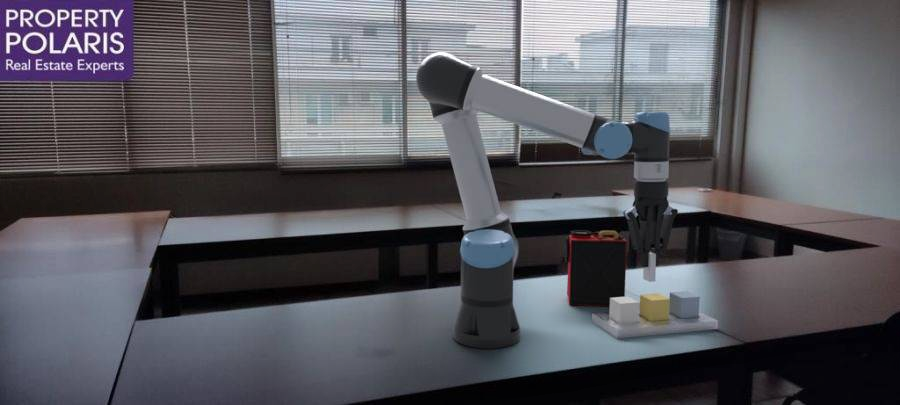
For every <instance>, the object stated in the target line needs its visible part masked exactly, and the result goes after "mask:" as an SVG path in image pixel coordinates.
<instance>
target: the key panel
mask: <svg viewBox="0 0 900 405" xmlns="http://www.w3.org/2000/svg"><path fill="white" fill-rule="evenodd" d="M639 313H640V308H639ZM591 322H592V323H594V324H595V325H596V326H598V327H600V328H601V329H602V330H604V331H605V332H607V333H608V334H610V335H611V336H612V337H614V338H615V339H627V338H636V337H647V336H657V335H658V336H659V335H667V334H668V335H671V334H680V333H690V332H701V331H702V332H703V331H711V330H718V328H719V327H718V326H719V320H717V319H715V318H714V317H711V316H710V315H706V314H704V313H703V312H701V311H699V317H693V318H682V319H681V318H679V317H677V316H675V315H673V314H671V313H669V320H660V321H649V320H647V319H646V318H644V317H642V316H640V315H639V318H638V323H630V324H618V323H616V322H614V321H613V320H611V319H610V318H609V311H604V312H594V313H593V312H592V313H591Z"/></svg>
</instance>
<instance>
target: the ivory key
mask: <svg viewBox="0 0 900 405" xmlns="http://www.w3.org/2000/svg"><path fill="white" fill-rule="evenodd" d="M639 309H640V301H638V300H635V299H634V298H632V297H630V296H625V297H614V298H610V306H609V310H608V312H609V318H610V319H611V320H613V321H614V322H616V323H618V324H630V323H638V318H639Z"/></svg>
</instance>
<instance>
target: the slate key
mask: <svg viewBox="0 0 900 405" xmlns="http://www.w3.org/2000/svg"><path fill="white" fill-rule="evenodd" d="M669 299H670V307H669V313H671V314H673V315H675V316H677V317H679V319H686V318H693V317H699V312H700V299H701V297H700V296H699V295H697V294H694V293H692V292H690V291H688V290H684V291H673V292H669Z"/></svg>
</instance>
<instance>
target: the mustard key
mask: <svg viewBox="0 0 900 405" xmlns="http://www.w3.org/2000/svg"><path fill="white" fill-rule="evenodd" d="M639 296H640V298H639V309H640V313H639V315H640V316H642V317H644V318H646V319H647V320H649V321H650V322H653V321H660V320H669V307H670V297H669V298H668V297H666V296H664V295H663V294H660V293H647V294H640V295H639Z"/></svg>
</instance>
